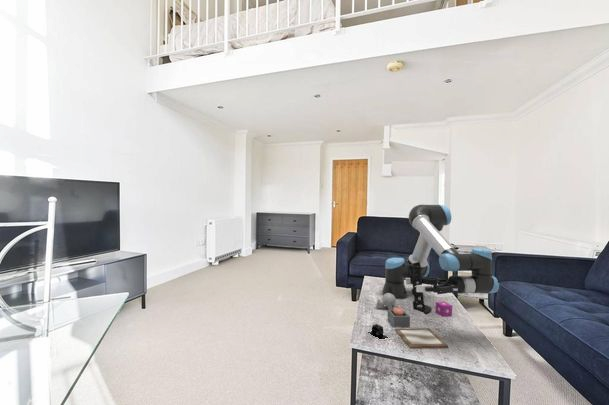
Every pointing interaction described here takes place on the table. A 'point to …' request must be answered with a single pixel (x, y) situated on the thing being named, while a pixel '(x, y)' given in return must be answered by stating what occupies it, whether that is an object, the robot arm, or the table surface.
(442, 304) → the puzzle toy
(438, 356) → the table surface
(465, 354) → the table surface
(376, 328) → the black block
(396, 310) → the button
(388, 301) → the round bodied animal figurine
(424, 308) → the holder
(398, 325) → the button housing
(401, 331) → the board
